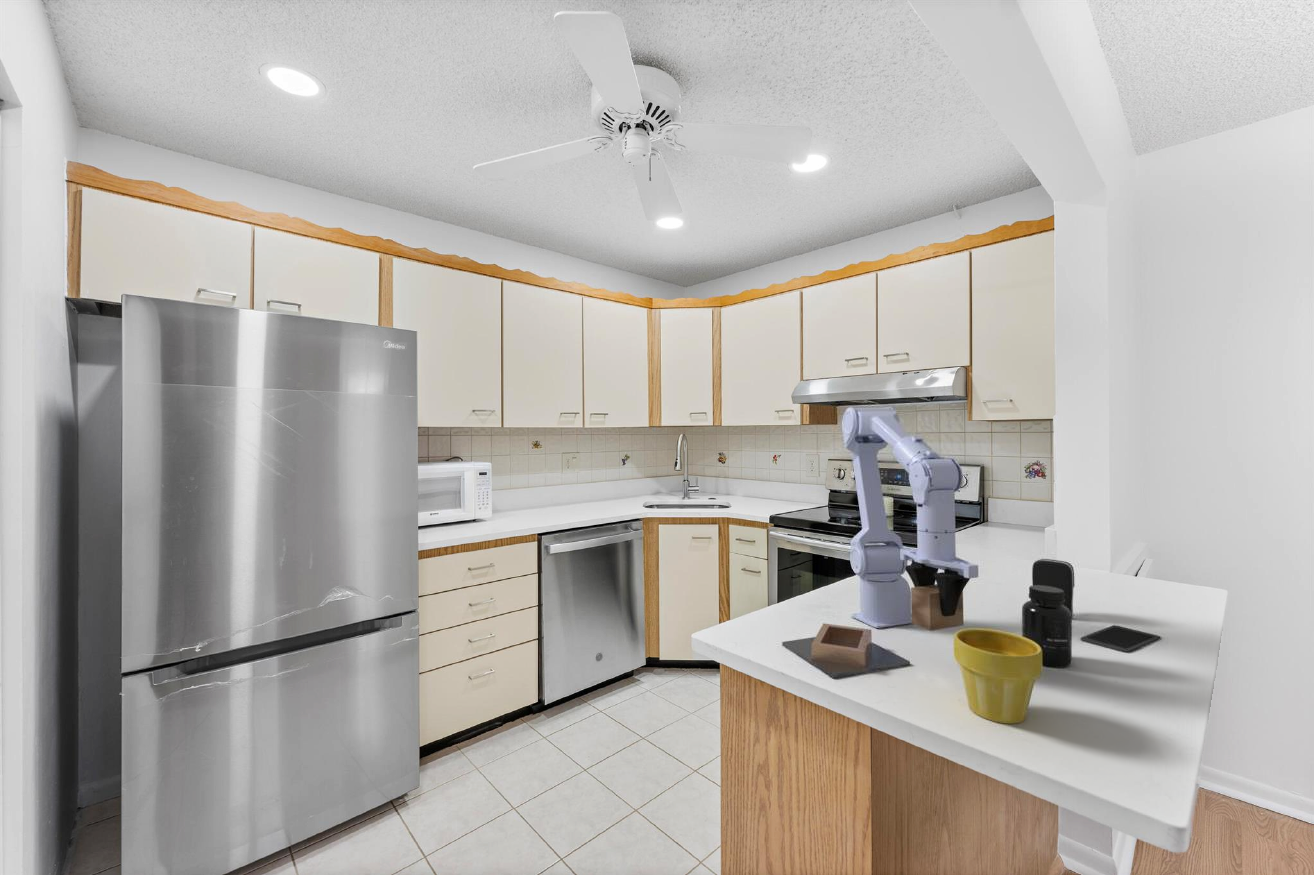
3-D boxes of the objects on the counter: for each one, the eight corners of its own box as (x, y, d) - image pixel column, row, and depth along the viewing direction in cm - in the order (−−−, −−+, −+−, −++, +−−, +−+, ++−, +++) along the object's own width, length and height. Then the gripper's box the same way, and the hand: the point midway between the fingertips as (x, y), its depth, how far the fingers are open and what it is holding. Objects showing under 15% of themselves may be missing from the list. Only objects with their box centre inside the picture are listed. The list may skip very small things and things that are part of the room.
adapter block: (911, 623, 93) (911, 587, 93) (944, 618, 95) (943, 583, 95) (930, 630, 89) (929, 593, 89) (963, 625, 92) (962, 589, 92)
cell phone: (1162, 640, 101) (1162, 636, 101) (1128, 655, 94) (1128, 651, 94) (1114, 628, 107) (1114, 624, 107) (1078, 641, 101) (1078, 637, 101)
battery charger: (1076, 616, 114) (1075, 561, 114) (1072, 620, 111) (1071, 564, 111) (1036, 609, 119) (1035, 556, 119) (1031, 613, 116) (1030, 558, 116)
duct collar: (850, 634, 105) (850, 618, 105) (909, 664, 91) (909, 646, 91) (782, 645, 101) (781, 628, 101) (833, 678, 86) (832, 659, 86)
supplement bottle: (1058, 671, 87) (1056, 596, 87) (1013, 657, 94) (1012, 586, 94) (1081, 663, 91) (1079, 590, 91) (1036, 649, 97) (1035, 581, 97)
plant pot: (1058, 716, 74) (1056, 643, 74) (1021, 740, 68) (1019, 661, 68) (978, 687, 82) (977, 622, 82) (939, 707, 77) (938, 637, 77)
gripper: (885, 525, 98) (887, 601, 98) (953, 539, 84) (954, 627, 84) (917, 522, 100) (918, 597, 100) (988, 535, 87) (989, 622, 86)
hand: (937, 611), depth 92 cm, fingers closed on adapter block, 4 cm apart
